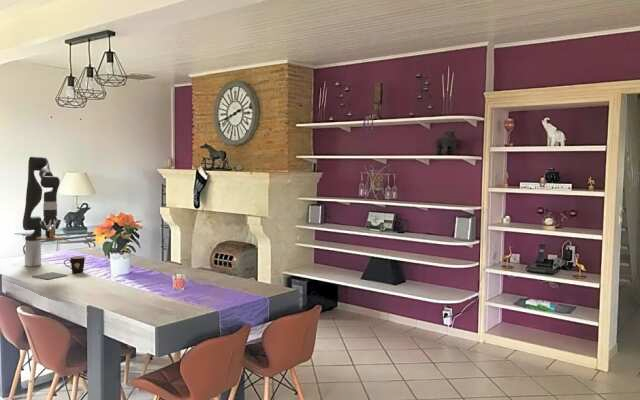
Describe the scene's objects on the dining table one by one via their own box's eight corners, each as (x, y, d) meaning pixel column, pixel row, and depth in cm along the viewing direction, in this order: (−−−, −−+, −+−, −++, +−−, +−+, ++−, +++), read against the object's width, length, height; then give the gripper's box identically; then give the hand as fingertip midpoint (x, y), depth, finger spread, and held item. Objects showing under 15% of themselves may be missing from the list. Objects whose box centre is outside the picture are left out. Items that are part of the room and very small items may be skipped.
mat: (32, 277, 325) (32, 276, 325) (52, 273, 338) (52, 272, 338) (47, 279, 319) (47, 278, 319) (67, 275, 332) (67, 274, 332)
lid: (36, 239, 324) (36, 229, 324) (52, 237, 334) (52, 227, 334) (48, 240, 320) (48, 231, 319) (64, 238, 329) (64, 229, 329)
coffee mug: (87, 271, 345) (87, 256, 344) (80, 274, 337) (80, 258, 336) (70, 270, 346) (70, 255, 346) (63, 273, 338) (63, 257, 337)
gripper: (56, 207, 333) (56, 234, 335) (35, 209, 321) (35, 237, 322) (64, 208, 330) (64, 235, 332) (44, 209, 318) (44, 238, 319)
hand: (50, 236), depth 327 cm, fingers closed on lid, 3 cm apart
